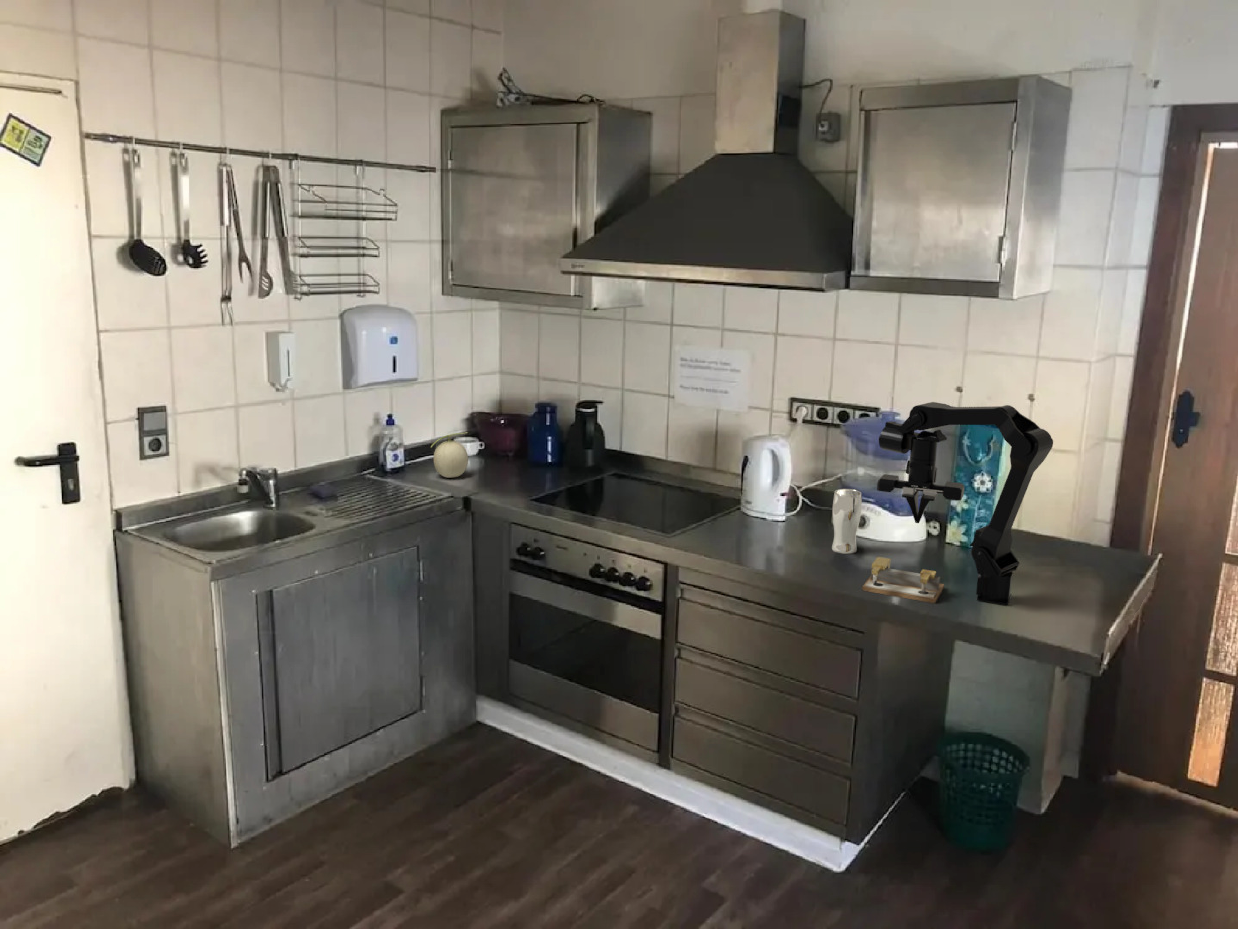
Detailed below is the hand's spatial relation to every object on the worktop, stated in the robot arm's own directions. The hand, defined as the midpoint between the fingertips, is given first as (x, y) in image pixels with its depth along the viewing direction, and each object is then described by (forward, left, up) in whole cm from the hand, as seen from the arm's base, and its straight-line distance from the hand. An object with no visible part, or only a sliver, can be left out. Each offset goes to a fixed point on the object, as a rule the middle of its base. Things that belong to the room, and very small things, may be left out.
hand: (917, 522), depth 238 cm
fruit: (+146, -17, -13) cm, 147 cm away
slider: (+6, +11, -11) cm, 17 cm away
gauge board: (0, +11, -13) cm, 17 cm away
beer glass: (+19, -9, -13) cm, 24 cm away
